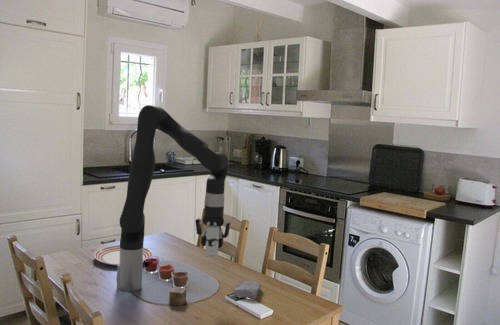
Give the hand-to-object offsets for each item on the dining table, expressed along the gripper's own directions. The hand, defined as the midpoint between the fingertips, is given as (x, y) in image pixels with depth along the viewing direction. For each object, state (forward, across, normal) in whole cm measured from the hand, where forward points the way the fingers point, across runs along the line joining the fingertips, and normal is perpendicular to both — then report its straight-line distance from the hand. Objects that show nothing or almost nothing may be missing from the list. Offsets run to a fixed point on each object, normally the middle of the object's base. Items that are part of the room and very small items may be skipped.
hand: (211, 246), depth 173 cm
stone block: (+22, -13, -11) cm, 28 cm away
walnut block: (+22, +11, +6) cm, 25 cm away
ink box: (+3, 0, 0) cm, 3 cm away
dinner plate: (+23, +52, -31) cm, 64 cm away
